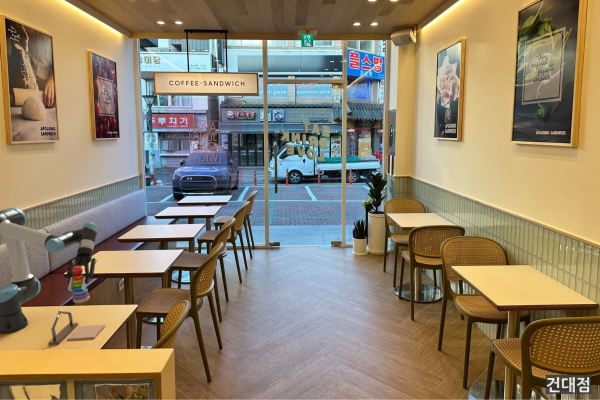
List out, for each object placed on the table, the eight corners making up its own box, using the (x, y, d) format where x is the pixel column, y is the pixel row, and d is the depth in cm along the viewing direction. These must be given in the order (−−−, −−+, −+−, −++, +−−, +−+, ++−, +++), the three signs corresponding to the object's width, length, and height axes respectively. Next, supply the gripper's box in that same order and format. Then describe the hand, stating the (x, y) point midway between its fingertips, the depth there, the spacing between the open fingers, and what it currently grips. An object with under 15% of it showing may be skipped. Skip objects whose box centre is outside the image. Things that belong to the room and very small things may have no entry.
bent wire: (69, 325, 257) (65, 302, 254) (78, 325, 257) (74, 301, 254) (48, 345, 235) (44, 319, 232) (58, 344, 235) (54, 319, 232)
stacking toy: (83, 303, 238) (77, 268, 234) (69, 303, 239) (63, 269, 236) (93, 297, 245) (87, 263, 242) (80, 297, 247) (73, 263, 243)
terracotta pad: (67, 340, 239) (67, 338, 239) (79, 328, 253) (79, 326, 253) (94, 338, 239) (94, 336, 239) (105, 326, 253) (105, 324, 253)
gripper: (105, 251, 254) (97, 291, 241) (71, 254, 254) (61, 294, 241) (100, 245, 247) (92, 285, 234) (64, 247, 247) (54, 288, 234)
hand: (76, 289), depth 238 cm, fingers closed on stacking toy, 6 cm apart
